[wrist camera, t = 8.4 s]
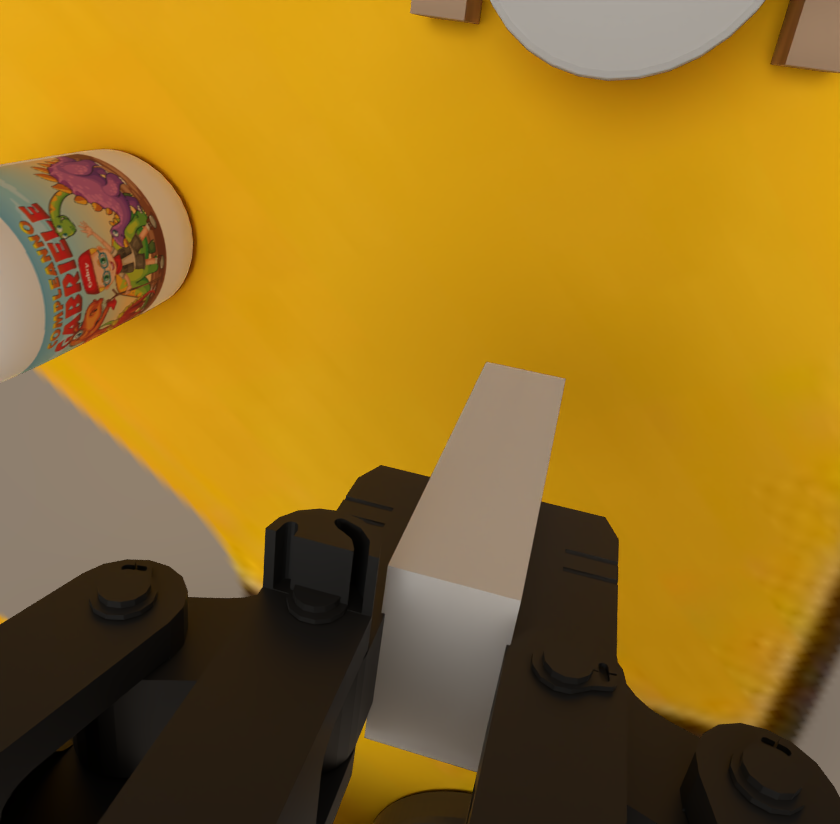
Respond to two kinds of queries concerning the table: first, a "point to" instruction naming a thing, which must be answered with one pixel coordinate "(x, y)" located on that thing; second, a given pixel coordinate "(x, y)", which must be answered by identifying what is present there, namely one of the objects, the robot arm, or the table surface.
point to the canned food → (622, 32)
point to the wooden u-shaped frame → (797, 47)
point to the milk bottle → (83, 250)
